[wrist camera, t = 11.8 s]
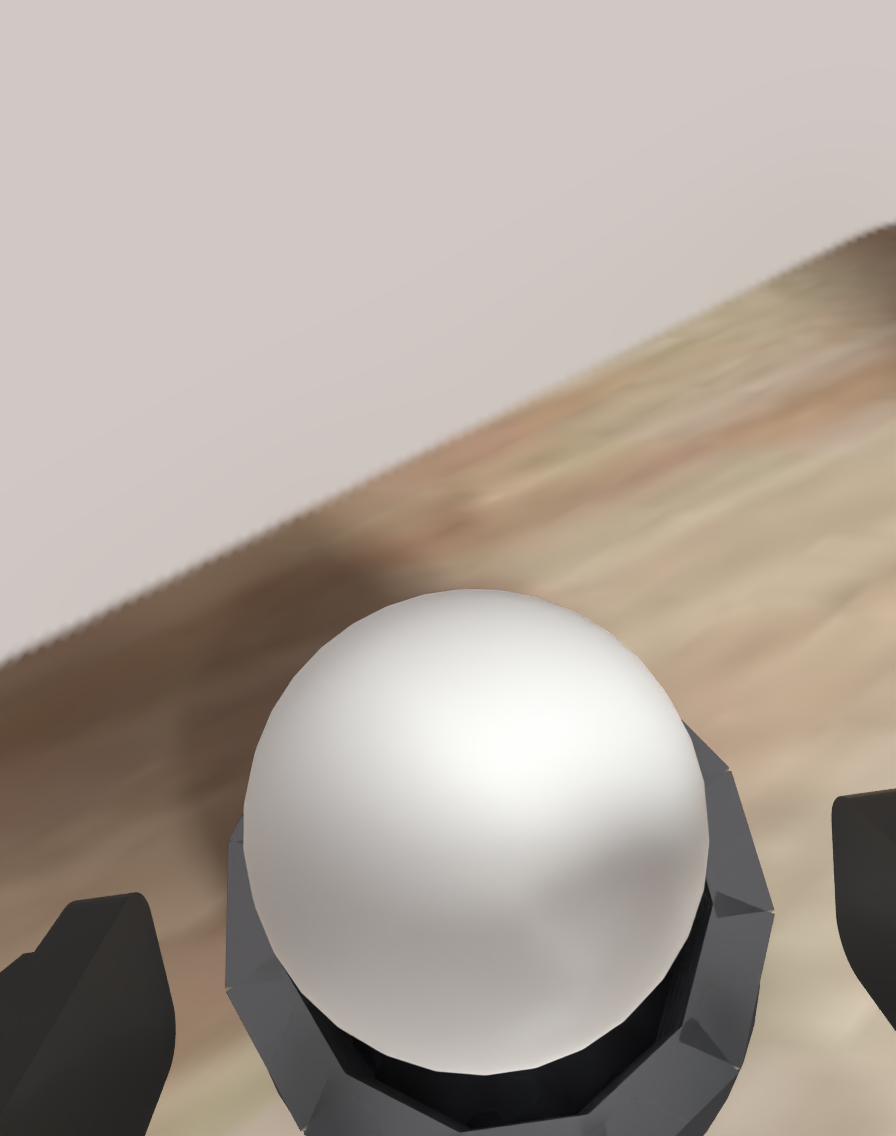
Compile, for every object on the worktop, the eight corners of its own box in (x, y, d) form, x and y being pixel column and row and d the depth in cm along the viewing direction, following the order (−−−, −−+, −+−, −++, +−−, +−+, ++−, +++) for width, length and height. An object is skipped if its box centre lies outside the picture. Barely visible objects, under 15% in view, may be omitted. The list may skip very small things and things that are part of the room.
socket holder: (674, 668, 22) (704, 577, 18) (825, 1185, 16) (917, 1209, 12) (256, 727, 22) (201, 649, 18) (253, 1267, 16) (170, 1314, 12)
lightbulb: (415, 751, 20) (324, 449, 11) (668, 838, 19) (803, 570, 10) (303, 1019, 17) (57, 905, 8) (592, 1149, 16) (684, 1187, 7)
